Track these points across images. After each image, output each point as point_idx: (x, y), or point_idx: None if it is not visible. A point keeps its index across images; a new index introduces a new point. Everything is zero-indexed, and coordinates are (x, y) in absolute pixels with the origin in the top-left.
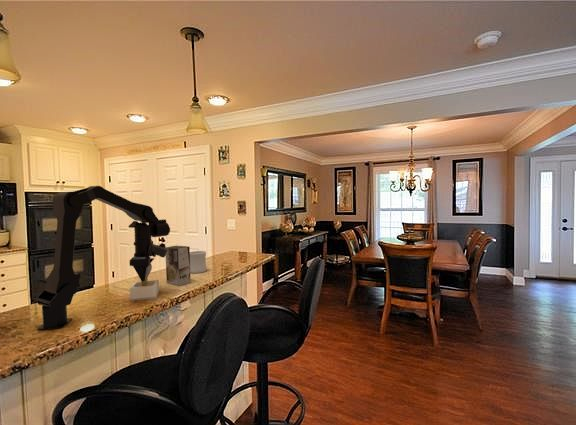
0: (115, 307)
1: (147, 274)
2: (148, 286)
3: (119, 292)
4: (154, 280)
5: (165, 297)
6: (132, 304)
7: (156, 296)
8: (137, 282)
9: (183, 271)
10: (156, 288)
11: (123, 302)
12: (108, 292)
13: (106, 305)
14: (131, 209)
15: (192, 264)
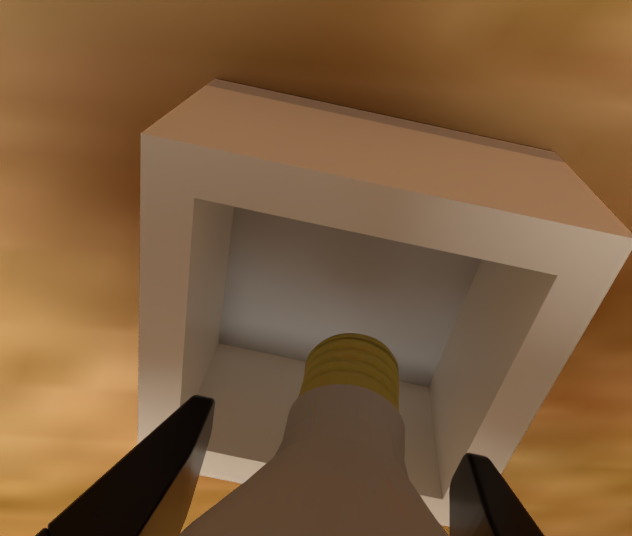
0: (559, 490)
1: (426, 510)
2: (572, 346)
3: (77, 443)
4: (158, 217)
5: (596, 9)
6: (582, 387)
7: (517, 148)
8: None
9: None
10: (513, 185)
11: None
12: (50, 500)
13: (444, 528)
14: None
15: None
